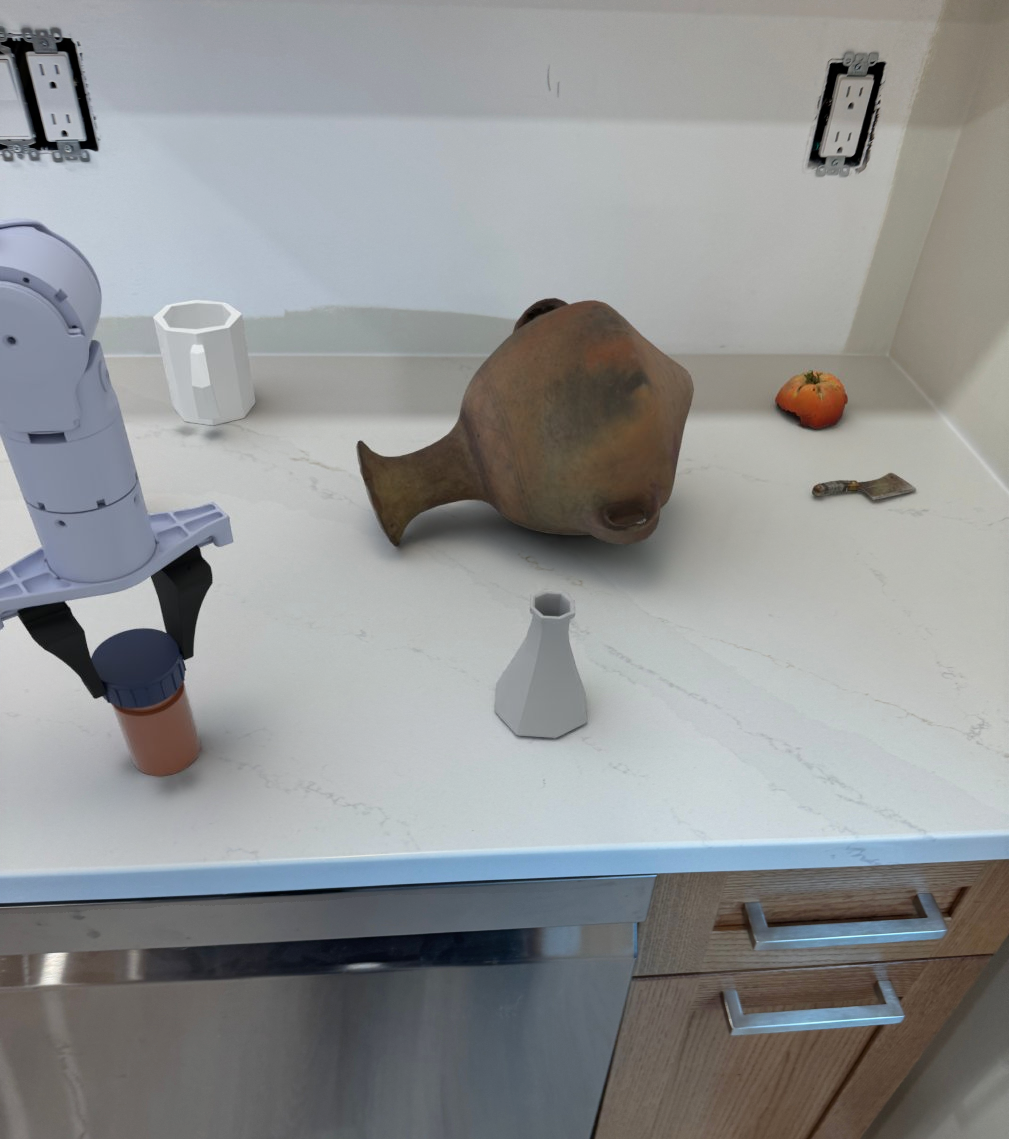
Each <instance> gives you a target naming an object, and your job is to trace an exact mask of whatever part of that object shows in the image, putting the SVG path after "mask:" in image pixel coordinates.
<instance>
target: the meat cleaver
mask: <svg viewBox="0 0 1009 1139" xmlns="http://www.w3.org/2000/svg"><path fill="white" fill-rule="evenodd" d="M858 491H860V492H862V493H863V494H865V495H866V496H867V497H868V498H870V499H871V500H879V499H884V498H889V497H895V496H900V495H903V494H908V493H912V492H915V491H917V488H916V487H915V486H914V485H912V484H911V483H910V482H908V481H907V480H905V479H903V478H902V477H901V476H899V475H897V474H895V473H893V472H888V473H886V474H885V475H883V476H881V477H879V478H876V479H872V480H866V481H857V480H851V479H850V480H848V479H845V480H844V479H842V480H841V479H838V480H829V481H826V482H821V483H817V484H815V485H814V486H813V487H812V490H811V495H812V496H814V497H816V498H820V497H825V496H826V495H832V494H841V493H845V494H846V493H857V492H858Z"/></svg>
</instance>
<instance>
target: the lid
mask: <svg viewBox="0 0 1009 1139" xmlns="http://www.w3.org/2000/svg"><path fill="white" fill-rule="evenodd" d="M91 660H92V663H93V665H94V667H95V669H96V671H97V673H98V675H99V677H100V679H101V681H102V684H103V686H104V689H105V693H106V695H104V696H102V697H101V698H103V699H104V700H105V701H106V703H107V704H111V705H112V704H113V705H115V706H118V707H121V708H144V707H148V706H152V705H155V704H158V703H160V702H162V701H164V700H166V699H168V698H169V697H171V696H172V695H173V694H174V693H175V692H176V691H178V689H179V688H180V687H181V685H182V683H183V681H184V682H185V680H186V679H185V677H186V671H187V668H186V664H185V661H184V660H183V656H182V653H180V649H179V646H178V644H177V643H176V642H175V640H174V639H173V638H172V637H171V636H170V635H169V634H167V633H166V631H163V630H160V629H156V628H149V627H148V628H145V627H142V628H141V627H140V628H132V629H127V630H124V631H120V632H118V633H116V634H113V635H112V636H110V637H108V638H106V639H105V640H104V641H102V642H101V643H100V644H99V645H98V646H97V647H96V648H95V650H94V651H93V652H92V655H91Z"/></svg>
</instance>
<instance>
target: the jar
mask: <svg viewBox="0 0 1009 1139" xmlns="http://www.w3.org/2000/svg"><path fill="white" fill-rule="evenodd" d="M188 694H189V693H188V691H187V688H186V684H185V681H183V683H182V685H181V687H180V688H179V689H178V691H176V692H175V693H174V694H173V695H172V696H171V697H169V698H168V699H166V700H164V701H162V702H160V703H158V704H155V705H152V706H148V707H144V708H121V707H118V706H115V705H113V704H111V706H112V709H113V712H114V714H115V717H116V720H117V722H118V726H119V728H120V731H121V733H122V736H123V740H124V742H125V745H126V747H127V750H128V753H129V755H130V758H131V762H132V763H133V765H134V766H135V768H136V769H137V770H138V771H139V772H141V773H143V774H146V775H149V776H155V777H164V776H171V775H174V774H177V773H180V772H181V771H184V770H186V769H187V768H189V766H191V765H192V764H193V763H194V762H195V761H196V759H197V758H198V757H199V755H200V752H201V748H202V743H201V738H200V734H199V730H198V728H197V724H196V720H195V717H194V713H193V709H192V706H191V702H190V698H189V695H188Z"/></svg>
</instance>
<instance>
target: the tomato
mask: <svg viewBox="0 0 1009 1139" xmlns="http://www.w3.org/2000/svg"><path fill="white" fill-rule="evenodd" d="M815 368H816V367H815ZM848 398H849V397H848V394H847V393H846V390H845V387H844V385H843V384H842V382H841V380H840V379H839V378H837V377H836V376H835V375H833V374H831V373H826V372H823V371H814V370H813V369H809V370H808V371H805V372H802V373H800V374H795V375H794V376H792V377H791V378H790V379H789V380H788V381H787V382H786V383H785V384H784V385H782V386H781V387H780V389H779V391H778V392H777V394H776V396H775V400H774V402H775V403H777V404H778V407H780V408H781V410H783V411H785V412H788V411H789V412H790V413H796V416H797V417H799V418H800V423H799V424H797V426H799V427H803V428H804V427H808V426H809V427H811V428H813V429H814V430H815V429H821V428H824V427H829V426H834V425H837V423H838V422H839V421H840V420H841V419H842V417H843V415H844V411H845V407H846V405H847V404H848V402H849V399H848Z"/></svg>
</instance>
